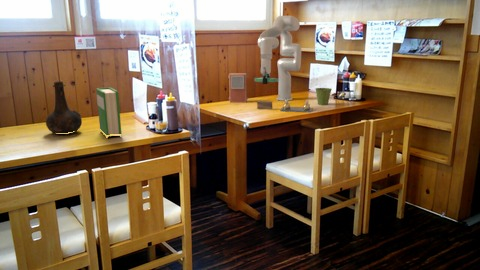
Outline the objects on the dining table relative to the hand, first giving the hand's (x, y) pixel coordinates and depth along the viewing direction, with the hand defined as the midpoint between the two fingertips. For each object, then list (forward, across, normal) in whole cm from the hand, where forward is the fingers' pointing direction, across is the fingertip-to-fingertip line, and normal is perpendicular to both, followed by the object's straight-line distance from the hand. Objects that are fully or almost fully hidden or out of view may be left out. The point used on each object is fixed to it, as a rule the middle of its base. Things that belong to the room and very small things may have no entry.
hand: (266, 83), depth 285 cm
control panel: (+18, -23, -27) cm, 40 cm away
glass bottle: (+18, +94, -89) cm, 131 cm away
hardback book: (+18, +91, -63) cm, 112 cm away
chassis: (+18, 0, +21) cm, 27 cm away
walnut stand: (+18, 0, -1) cm, 18 cm away
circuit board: (-1, 0, 0) cm, 1 cm away
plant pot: (+18, -26, +36) cm, 48 cm away
